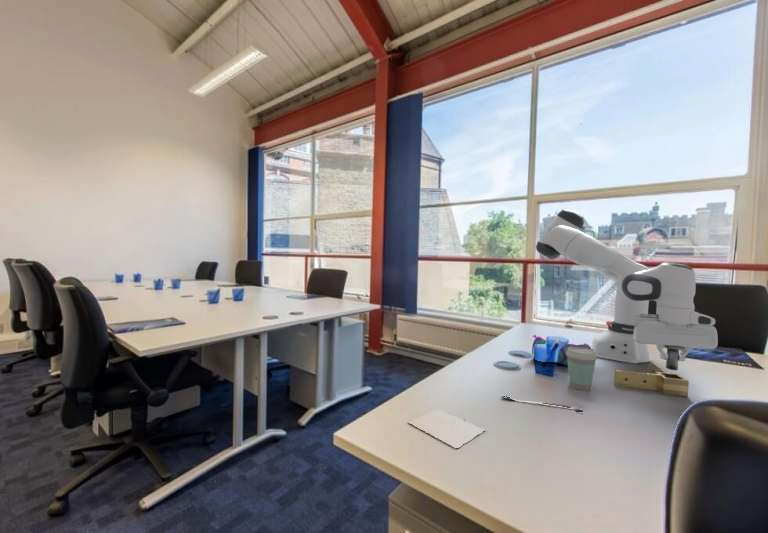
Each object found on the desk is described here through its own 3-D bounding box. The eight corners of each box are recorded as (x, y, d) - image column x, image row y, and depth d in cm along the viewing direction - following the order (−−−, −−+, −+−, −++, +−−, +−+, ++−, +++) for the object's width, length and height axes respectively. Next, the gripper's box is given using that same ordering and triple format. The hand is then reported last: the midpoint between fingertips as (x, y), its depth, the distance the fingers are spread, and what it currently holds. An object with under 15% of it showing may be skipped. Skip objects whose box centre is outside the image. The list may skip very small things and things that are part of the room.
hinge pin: (664, 369, 103) (666, 346, 103) (660, 365, 107) (662, 342, 107) (683, 372, 101) (684, 348, 101) (678, 367, 105) (679, 344, 105)
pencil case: (593, 366, 128) (594, 341, 127) (591, 373, 121) (592, 346, 120) (534, 356, 140) (535, 333, 140) (529, 361, 133) (530, 337, 133)
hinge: (687, 397, 101) (688, 380, 101) (617, 388, 107) (618, 373, 107) (660, 376, 118) (661, 362, 118) (601, 369, 124) (601, 356, 124)
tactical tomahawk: (579, 407, 96) (579, 403, 97) (583, 415, 90) (584, 411, 90) (502, 393, 104) (502, 390, 104) (501, 400, 98) (501, 396, 98)
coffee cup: (593, 384, 110) (594, 348, 110) (597, 394, 102) (599, 355, 102) (563, 380, 114) (565, 344, 113) (565, 389, 106) (566, 351, 105)
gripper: (638, 315, 104) (636, 359, 105) (722, 320, 97) (719, 367, 98) (630, 311, 110) (628, 353, 111) (709, 316, 103) (707, 360, 104)
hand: (672, 359), depth 104 cm, fingers closed on hinge pin, 3 cm apart
